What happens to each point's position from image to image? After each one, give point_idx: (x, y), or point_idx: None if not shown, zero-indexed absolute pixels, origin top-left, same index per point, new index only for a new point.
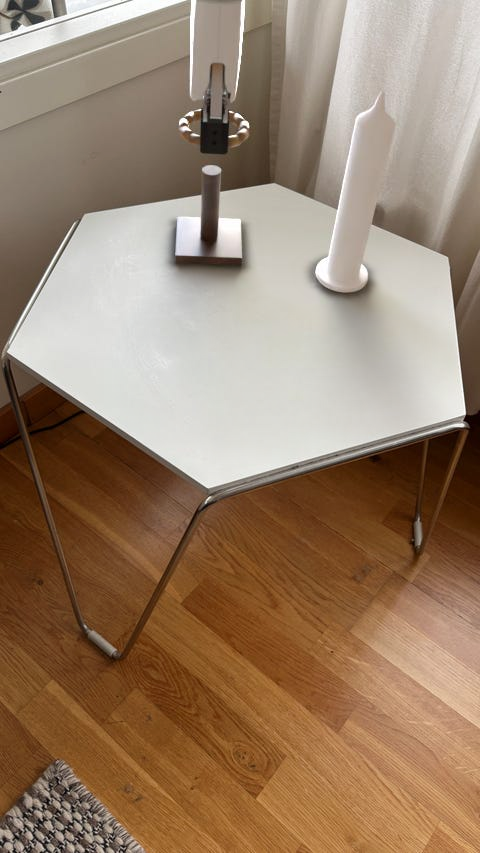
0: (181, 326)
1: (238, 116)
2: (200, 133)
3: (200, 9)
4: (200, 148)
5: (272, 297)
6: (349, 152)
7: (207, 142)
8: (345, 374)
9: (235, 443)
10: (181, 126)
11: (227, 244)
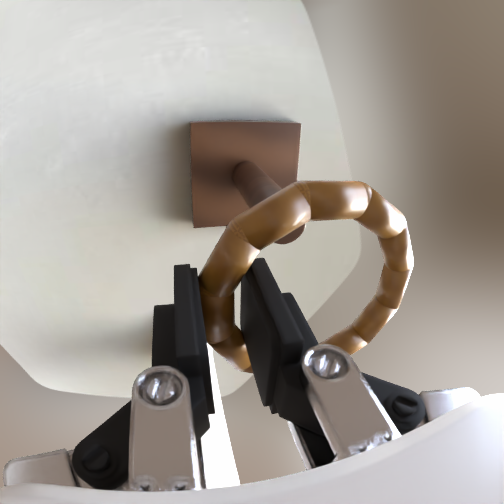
0: (49, 153)
1: (352, 350)
2: (175, 309)
3: None
4: (174, 271)
5: (130, 264)
6: (208, 475)
7: (153, 318)
8: (42, 329)
9: None
10: (313, 197)
11: (226, 204)
